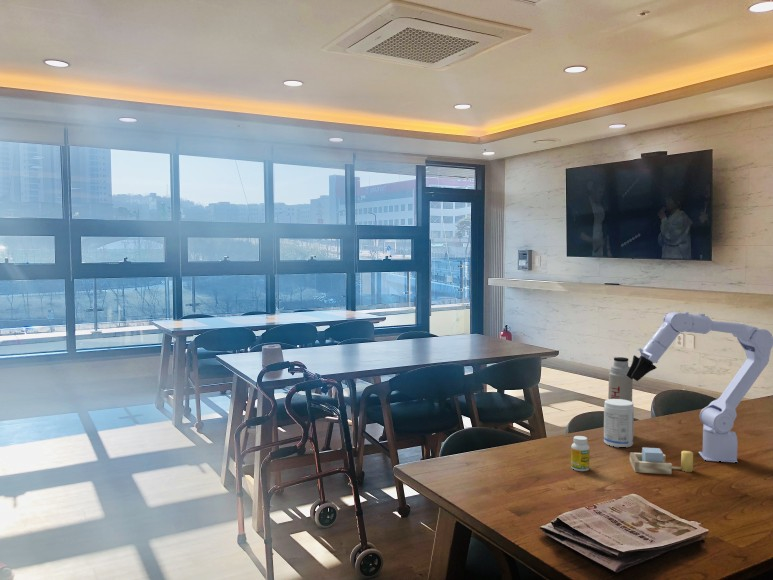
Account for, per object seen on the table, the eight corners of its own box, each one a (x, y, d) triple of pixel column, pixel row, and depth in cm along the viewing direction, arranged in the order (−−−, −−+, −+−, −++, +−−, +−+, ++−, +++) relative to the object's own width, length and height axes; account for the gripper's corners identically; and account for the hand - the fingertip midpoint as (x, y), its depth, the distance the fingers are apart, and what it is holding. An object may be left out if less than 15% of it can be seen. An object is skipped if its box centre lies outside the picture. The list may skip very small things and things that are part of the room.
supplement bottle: (578, 464, 194) (579, 434, 194) (593, 469, 190) (593, 438, 189) (567, 467, 191) (567, 436, 191) (581, 472, 187) (581, 441, 186)
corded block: (690, 467, 191) (690, 450, 191) (694, 473, 186) (695, 455, 186) (641, 464, 194) (642, 447, 194) (644, 470, 189) (645, 452, 189)
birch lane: (664, 463, 195) (664, 454, 195) (671, 474, 186) (671, 464, 185) (629, 461, 197) (629, 452, 197) (635, 471, 188) (635, 462, 188)
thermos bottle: (619, 439, 220) (621, 360, 218) (602, 433, 227) (604, 356, 225) (636, 436, 223) (638, 358, 222) (619, 431, 231) (620, 355, 229)
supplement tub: (613, 438, 222) (614, 397, 221) (638, 444, 214) (639, 402, 213) (597, 443, 216) (598, 401, 215) (623, 450, 208) (624, 406, 207)
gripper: (642, 336, 206) (616, 369, 207) (653, 336, 192) (625, 371, 192) (660, 349, 205) (634, 382, 205) (673, 351, 190) (645, 386, 191)
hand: (631, 378), depth 199 cm, fingers open, 7 cm apart
